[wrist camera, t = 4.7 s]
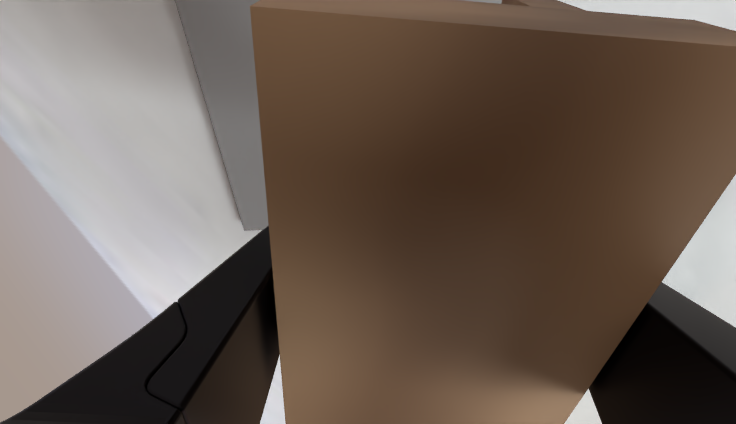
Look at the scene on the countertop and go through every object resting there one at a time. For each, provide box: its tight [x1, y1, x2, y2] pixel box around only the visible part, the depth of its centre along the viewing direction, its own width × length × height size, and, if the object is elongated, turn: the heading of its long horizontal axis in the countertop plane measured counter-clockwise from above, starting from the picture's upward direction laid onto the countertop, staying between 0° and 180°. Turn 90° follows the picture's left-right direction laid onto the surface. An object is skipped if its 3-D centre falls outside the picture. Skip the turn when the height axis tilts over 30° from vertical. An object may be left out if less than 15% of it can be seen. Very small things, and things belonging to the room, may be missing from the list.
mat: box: [175, 0, 502, 231], centre depth 19 cm, size 18×16×1 cm
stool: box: [250, 0, 736, 424], centre depth 10 cm, size 6×10×7 cm, turn 176°
